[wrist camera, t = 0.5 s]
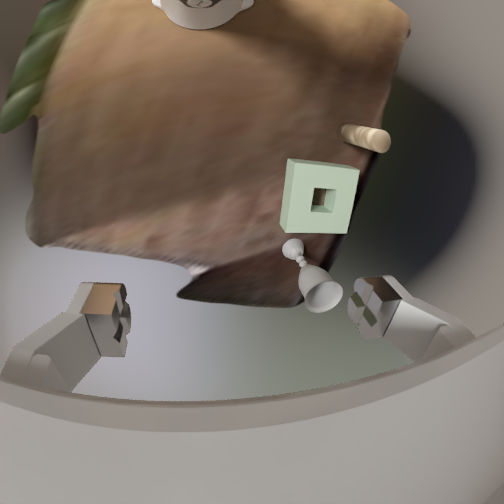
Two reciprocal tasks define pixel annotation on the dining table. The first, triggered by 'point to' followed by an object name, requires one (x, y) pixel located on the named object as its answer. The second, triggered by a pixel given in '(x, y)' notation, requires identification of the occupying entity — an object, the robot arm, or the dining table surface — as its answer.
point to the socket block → (301, 194)
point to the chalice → (313, 280)
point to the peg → (365, 137)
